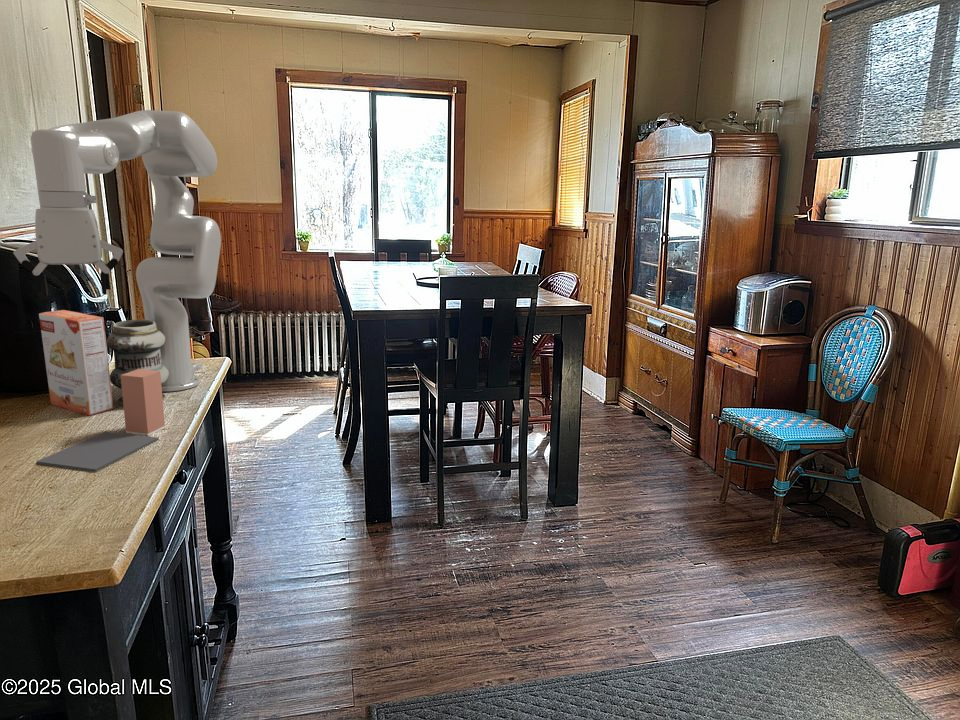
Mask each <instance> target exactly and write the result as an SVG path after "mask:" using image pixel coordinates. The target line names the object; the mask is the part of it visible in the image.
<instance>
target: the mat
mask: <svg viewBox="0 0 960 720" xmlns="http://www.w3.org/2000/svg"><path fill="white" fill-rule="evenodd" d="M157 440H158V441H159V437H156V436H150V435H149V436H146V435H138V434H130V433H124V432H122V433H121V432H113V431H107V430H105V431H102V432H100V433H98V434H95V435H94V436H91V437H88V438H86V439H83V440H82V441H80V442H77V443H76V444H73V445H70V446H69V447H66V448H64V449H62V450H59V451H57V452H54V453H52V454H50V455H48V456H45V457H43V458H41V459H39V460H36V465H41V466H50V467H55V468H61V469H62V468H64V469H71V470H78V471H83V472H84V471H85V472H93V473H96V472H99V471H101V470H103V469H105V468H106V467H109V466H110V465H112V464H115V463H117V462H118V461H121V460H123V459H124V458H126V457H128V456H130V455H132V454H134V453H136V452H138V451H140V450H142V449H144V448H146V447H148V446H150V445H152V444H154V443H156V442H158V441H157ZM153 442H154V443H153ZM151 443H152V444H151ZM149 444H150V445H149ZM147 445H148V446H147ZM145 446H146V447H145ZM143 447H144V448H143ZM141 448H142V449H141ZM139 449H140V450H139ZM137 450H138V451H137Z"/></svg>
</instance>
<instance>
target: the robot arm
mask: <svg viewBox="0 0 960 720" xmlns="http://www.w3.org/2000/svg"><path fill="white" fill-rule="evenodd" d="M30 136H31V137H30V142H31V153H32V158H33V163H34V164H33V165H34V173H35V179H36V180H35V181H36V186H37V194H38V196H37V197H38V201H39V208H36V209H35V217H34V218H35V222H34V228H35V233H34V234H35V240H34V241H32V242H30V243H28V244H26V245H23V246H21V247H19V248H17V249H15V250H14V251H13V252H12V253H13V255H14V256H15V258H16V259H17V260H18V262H19V263H20V264H21V265H22V267H23V268H25V269H26V270H27V271H29V272H30V273H32V274H33V276H35V283H36V290H37V293H41V297H42V298H47V297H48V295H49V291H48V290H49V289H48V282H47V275H46V274H45V273H44V270H46V269H45V268H46V267H48V265H49V266H50V265H51V266H52V265H53V266H58V265H59V266H60V265H61V266H62V265H63V266H64V265H90V264H91V265H94V266H96V267H97V268H98V269H99V270H100V273H99V274H100V275H99V278H100V286H101V292H102V293H101V294H102V295H103V296H104V295H105V296H106V295H108V292H107V291H108V290H111V281H110V272H111V271H112V270H113V269H114V268H115V267H116V266H117V265H118V264H119V261H120V260H121V257H122V256H123V253H124V251H123V249H122V248H121V247H119V246H118V247H117V246H115V245H113V244H111V243H108V242H106V241H104V240H101V237H100V230H99V225H98V221H97V217H96V214H95V211H94V209H92V208H91V209H90V208H89V205H92V204H97V203H98V202H97V196H96V195H92V194H89V193H87V186H86V185H87V183H86V178H85V174H87V175H88V174H90V175H91V174H93V175H94V174H95V175H102V174H108V173H110V172H112V171H113V170H114V169H116V168H117V166H118V164H119V162H122V161H130V160H134V159H137V158H138V157H141V160H142V163H143V165H144V168H145V170H146V171H147V174H148V177H149V179H150V181H151V184H152V186H153V188H154V189H153V190H154V192H155V202H154V203H155V204H154V208H153V209H154V210H153V216H152V221H151V222H152V223H151V229H150V236H149V237H150V245H151V247H152V249H153V250H155V252H157V253H159V254H160V253H161V254H163V255H174V256H175V255H176V257H173V256H153V257H152V256H151V257H148V258H145V259H143V260H142V261H140V263H138V265H137V267H136V271H135V277H136V278H135V279H136V282H137V286H138V290H139V293H140V297H141V301H142V309H143V315H144V320H150V321H154V322H155V323H156V327H157V330H159V331H160V332H162V333H163V335H164V336H165V342H164V344H163V345H162V346H161V347H160V353H161V361H162V365H163V366H165V367H166V368H167V370H168V372H169V376H168V378H167V380H166V381H165V382H164V383H163V384H161V386H162V393H164V392H165V393H166V392H168V393H169V392H178V391H184V390H188V389H191V388H194V387H196V386H198V385H199V384H200V378H199V377H198V376H196V375H195V374H194V373H195V371H199V370H201V369H202V367H203V364H202V363H201V362H199V361H197V362H193V363H192V354H191V342H190V341H191V340H190V328H189V327H190V326H189V315H188V312H187V309H186V308H185V306H184V305H183V303H182V302H181V300H180V298H182V299H206V298H208V297H210V296H211V295H212V294H213V293H214V290H215V288H216V283H217V276H218V270H219V262H220V261H219V260H220V254H221V245H222V235H221V230H220V227H219V224H218V223H217V222H216V221H215V220H214V219H213V218H211V217H208V216H201V215H193V214H194V203H195V202H194V197H193V195H192V193H191V191H190V190H189V189H188V187H187V186H186V185H185V184H184V183H183V181H182V180H181V179H180V177H181V178H182V177H183V178H184V177H185V178H209V177H212V175H214V174H215V172H216V171H217V168H218V156H217V153H216V150H215V147H214V146H213V145H212V143H211V141H210V140H209V138H208V137H207V136H206V134H205V133H204V132H203V131H202V129H201V127H200V126H199V125H198V124H197V123H196V122H195V120H193V119H192V118H191V117H190V116H189V115H188V114H186V113H184V112H182V111H178V110H177V111H176V110H152V109H149V110H148V109H146V110H144V109H143V110H137V111H133V112H130V113H127V114H123V115H119V116H115V117H112V118H111V117H110V118H105V119H104V118H103V119H98V120H92V121H91V120H90V121H86V122H77V123H69V124H64V125H60V126H59V125H58V126H55V127H51V128H46V129H42V128H41V129H36V130H34V131H33V132H32V133H31V135H30ZM102 249H103V250H106V251H108V252H110V253H112V254H113V256H112V258H111V259H110V260H109V261H108V262H107V263H106V262H105V261H103V259H102V258H103V251H102ZM34 250H36V253H37V254H36V255H37V259H38V261H39V262H38V264H37V265H36V264H35V263H34V262H32V261H31V260H29V259H28V257H27V256H26V254H28V253H29V252H32V251H34ZM177 256H193V257H191V258H190V257H189V258H188V257H187V258H186V257H177Z"/></svg>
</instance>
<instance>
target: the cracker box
mask: <svg viewBox="0 0 960 720" xmlns="http://www.w3.org/2000/svg"><path fill="white" fill-rule="evenodd" d="M38 317H39V325H40V326H39V327H40V333H41V338H42V339H41V340H42V345H43V346H42V347H43V348H42V349H43V353H44V363H45V370H46V377H47V383H48V392H49V400H50V404H51V405H53V406H56V407H59V408H62V409H63V408H64V409H67V410H69V411H74V412H77V413H80V414H83V415H86V416H89V417H90V416H93V415H96V414H100V413H104V412H107V411H110V410H114V402H113V401H114V400H113V392H112V383H111V381H110V374H111V372H110V366H109V365H110V364H109V356H108V345H107V337H106V328H105V320H104V317H103V316H97V315H93V314H86V313H82V312H78V311H71V310H66V309H61V310H59V309H58V310H52V311H45V312H43V311H42V312H40V313H38Z"/></svg>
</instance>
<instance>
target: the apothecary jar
mask: <svg viewBox="0 0 960 720" xmlns="http://www.w3.org/2000/svg"><path fill="white" fill-rule="evenodd" d="M164 342H165V336H164V335H163V333H162V332H160V331H159V330H157V327H156V323H155V322H154V321H150V320H145V319H129V320H121V321H119V322H116V323H114V324H113V330H112V332H111V333H110V334H109V335H108V337H106V345H107V348H109V349H111V351H113V360H114V369H112V370H111V371H110V382H111V385H113V386H115V387H116V388H118V389H120V390H122V385H121V375H122V374H125V373H128V372H131V371H134V370H137V369H144V370H154V371H160V374H161V384H163V383H164V382H165V381H166V380H167V378H168V376H169V372H168V370H167V368H166V367H165V366H163V365H162V361H161V353H160V347H161V346H162V345H163V344H164ZM162 398H163V400H164V399H165V398H166V395H165V394H164V392H162ZM116 402H117V403H118V404H120V405H123V396H122V395H121V396H119V397H118V399H117V401H116Z"/></svg>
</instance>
